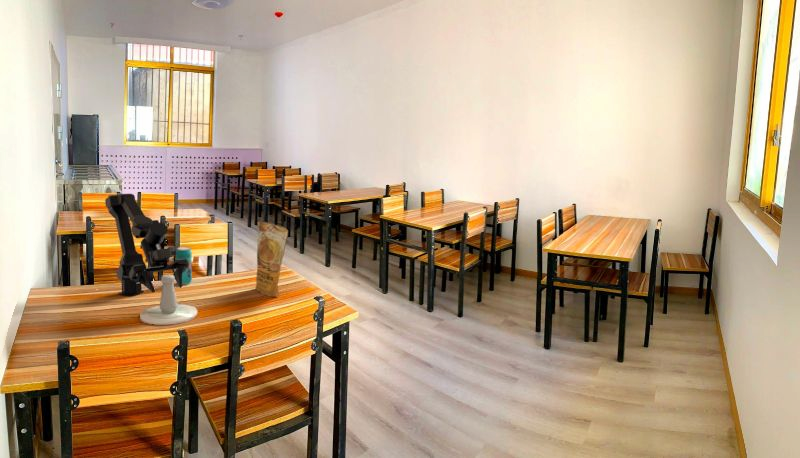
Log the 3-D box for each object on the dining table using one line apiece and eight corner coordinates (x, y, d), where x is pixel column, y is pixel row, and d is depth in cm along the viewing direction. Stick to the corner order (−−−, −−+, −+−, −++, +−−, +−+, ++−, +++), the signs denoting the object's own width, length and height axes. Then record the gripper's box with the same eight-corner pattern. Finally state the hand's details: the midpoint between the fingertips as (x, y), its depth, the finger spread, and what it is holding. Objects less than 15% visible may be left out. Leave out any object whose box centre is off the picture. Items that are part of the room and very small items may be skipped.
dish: (127, 319, 175) (127, 316, 175) (166, 304, 192) (166, 301, 192) (172, 328, 170) (172, 324, 170) (208, 311, 187) (208, 308, 187)
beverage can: (186, 285, 216) (186, 250, 214) (174, 284, 217) (173, 248, 215) (194, 282, 222) (194, 247, 219) (182, 281, 223) (181, 246, 220)
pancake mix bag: (264, 285, 222) (264, 220, 218) (288, 296, 209) (290, 227, 204) (249, 288, 218) (250, 221, 213) (273, 299, 204) (274, 228, 200)
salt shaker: (179, 309, 184) (179, 273, 182) (175, 314, 179) (174, 277, 176) (162, 309, 183) (161, 273, 181) (157, 314, 178) (156, 277, 176)
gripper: (131, 241, 174) (145, 281, 169) (186, 236, 188) (201, 272, 182) (122, 260, 181) (136, 299, 175) (176, 253, 194) (191, 289, 189)
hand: (167, 289), depth 180 cm, fingers open, 9 cm apart
